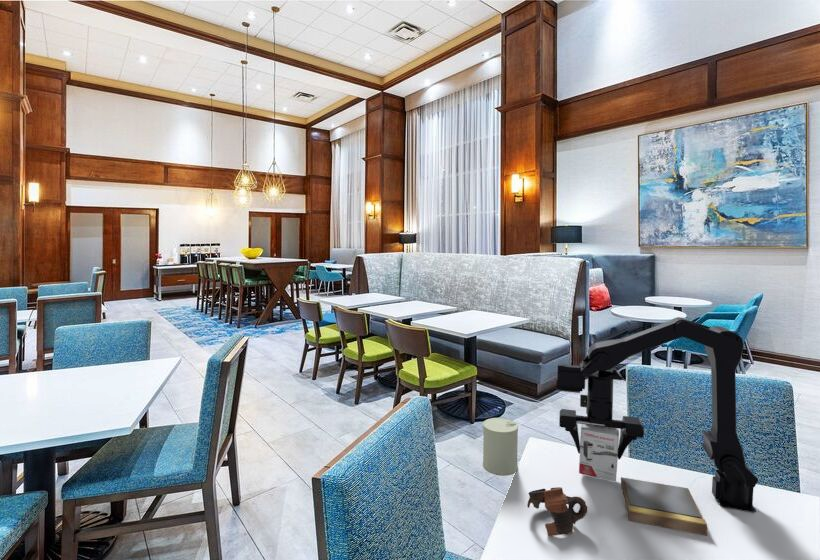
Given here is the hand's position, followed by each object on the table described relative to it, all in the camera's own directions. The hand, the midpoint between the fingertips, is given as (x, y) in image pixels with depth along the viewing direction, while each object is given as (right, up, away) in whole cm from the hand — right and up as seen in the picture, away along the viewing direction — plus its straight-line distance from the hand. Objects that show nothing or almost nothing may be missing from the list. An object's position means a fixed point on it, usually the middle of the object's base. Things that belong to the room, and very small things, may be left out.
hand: (598, 455), depth 104 cm
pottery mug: (-16, -8, -15) cm, 24 cm away
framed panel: (+8, -7, -11) cm, 16 cm away
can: (-23, -6, +7) cm, 25 cm away
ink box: (0, -5, 0) cm, 5 cm away
